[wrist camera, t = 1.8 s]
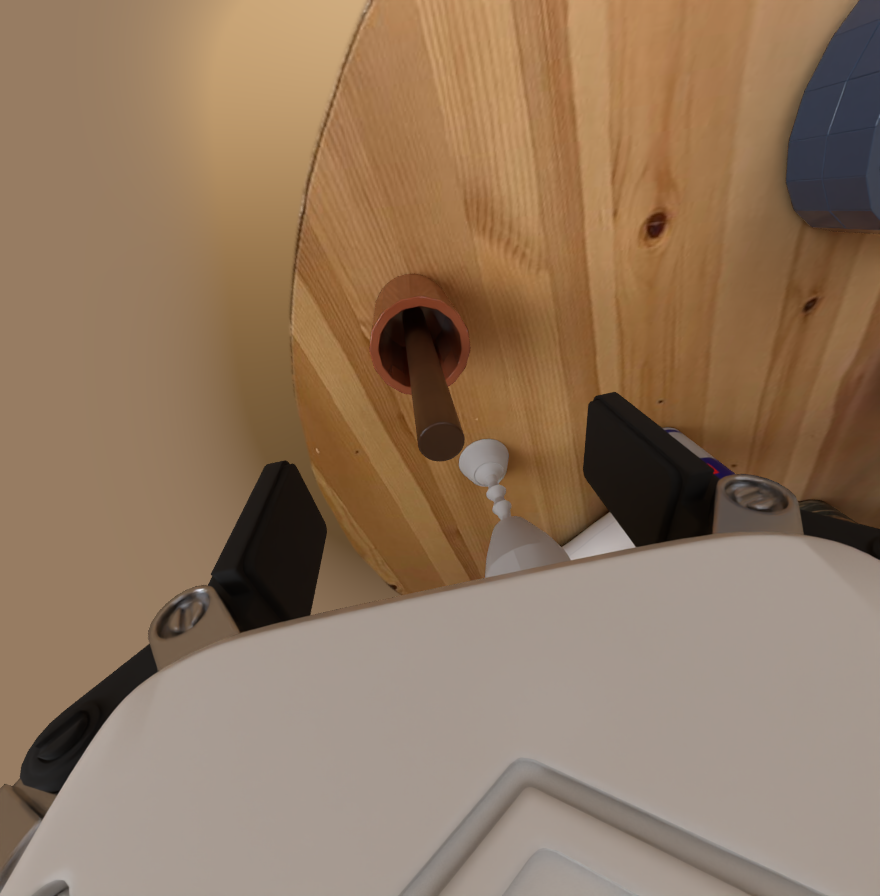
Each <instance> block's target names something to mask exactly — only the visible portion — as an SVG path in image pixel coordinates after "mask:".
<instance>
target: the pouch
mask: <svg viewBox="0 0 880 896" xmlns="http://www.w3.org/2000/svg"><path fill="white" fill-rule="evenodd" d="M562 548H563V549H564V550H565V552H566V553H567V554H568V556H569V558H570V560H575V559H580V558H585V557H590V556H595V555H600V554H605V553H610V552H615V551H619V550H624V549H630V548H635V545H634V544H633V543H632V541H631V540H630V538H629V537H628V536H627V534H626V533H625V532H624V530H623V529H622V528H621V526H620V525H619V523H618V522H617V521H616V519H615V518H614V517H613V515H612V514H611V513H610V512H609V513H608V514H606V515H605V516H603V517H602V518H600V519H599V520H598V521H596V522H595V523H593V524H592V525H591V526H589V527H588V528H587V529H585V530H584V531H583V532H582V533H580V534H579V535H578V536H576V537H575V538H574V539H572V540H571V541H570V542H568V543H567V544H565V545H564V546H562Z"/></svg>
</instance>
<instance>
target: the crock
mask: <svg viewBox="0 0 880 896" xmlns="http://www.w3.org/2000/svg"><path fill="white" fill-rule="evenodd" d="M414 307H419V308H421V310H422V311H423V313H424V316H425V319H426V322H427V325H428V328H429V331H430V334H431V337H432V340H433V343H434V346H435V349H436V352H437V355H438V358H439V361H440V364H441V367H442V370H443V373H444V377H445V380H446V383H447V386H450V385H451V384H453V383H454V382H455V381H456V380H457V378H458V377H459V376H460V374H461V373H462V372H463V370H464V369H465V367H466V364H467V360H468V357H469V353H470V341H469V333H468V329H467V327H466V325H465V324H464V322H463V320H462V318H461V317H460V315H459V313H458V312H457V310H456V309H455V307H454V306H453V304H452V303H451V301H450V300H449V298H448V297H447V295H446V294H445V292H444V291H443V289H442V288H441V287H440V286H439V285H438V284H437V283H435V282H434V281H433V280H431V279H430V278H428V277H426V276H423V275H419V274H405V275H401V276H398V277H396V278H394V279H393V280H391V281H390V282H388V283H387V284H386V285H385V286H384V288H383V289H382V290H381V292H380V294H379V296H378V298H377V300H376V304H375V311H374V318H373V325H372V331H371V340H370V348H369V350H370V355H371V358H372V362H373V365H374V369H375V370H376V372H377V373H378V374H379V375H380V377H381V378H382V379H383V380H384V382H385V383H386V384H387V385H389V386H391V387H392V388H394V389H396V390H398V391H400V392H401V393H404V394H410V395H412V392H411V384H410V375H409V367H408V359H407V351H406V343H405V335H404V326H403V318H402V315H403V312H404V310H405V309H409V308H414Z"/></svg>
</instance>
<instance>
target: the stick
mask: <svg viewBox="0 0 880 896" xmlns="http://www.w3.org/2000/svg"><path fill="white" fill-rule="evenodd" d="M402 318H403V326H404V335H405V343H406V351H407V359H408V367H409V375H410V384H411V392H412V400H413V408H414V416H415V424H416V432H417V441H418V447H419V450H420V452H421V453H422V454H423V455H424V456H425V457H426V458H428V459H430V460H433V461H446V460H449V459H452V458H454V457H455V456H456V455H458V454H459V452H460V451H461V450H462V448H463V445H464V440H465V439H464V434H463V431H462V428H461V425H460V422H459V419H458V416H457V413H456V410H455V407H454V404H453V401H452V398H451V395H450V392H449V389H448V386H447V383H446V380H445V377H444V373H443V370H442V367H441V364H440V361H439V358H438V355H437V352H436V349H435V346H434V343H433V340H432V337H431V334H430V331H429V328H428V325H427V322H426V319H425V316H424V313H423V311H422V310H421V308H419V307H414V308H409V309H405V310H404V312H403V315H402Z"/></svg>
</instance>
